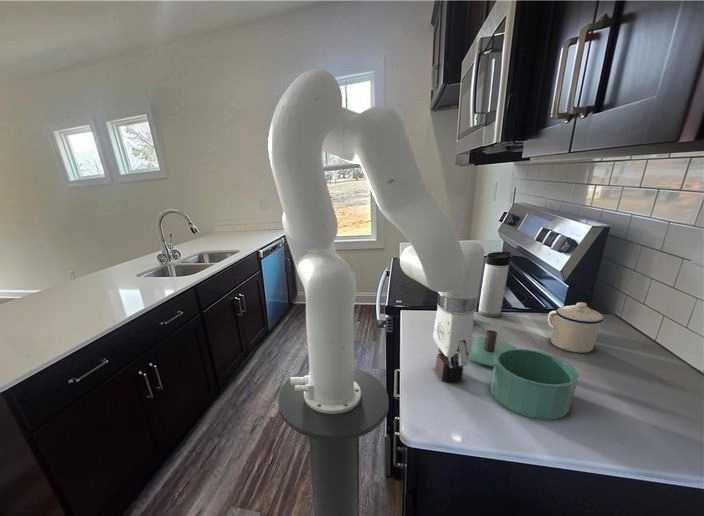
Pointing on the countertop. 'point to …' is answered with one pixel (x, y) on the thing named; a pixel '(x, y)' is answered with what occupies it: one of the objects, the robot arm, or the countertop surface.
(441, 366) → the block
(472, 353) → the lid
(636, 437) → the countertop surface
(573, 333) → the teacup with lid
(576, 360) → the countertop surface
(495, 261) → the travel mug
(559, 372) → the bowl
